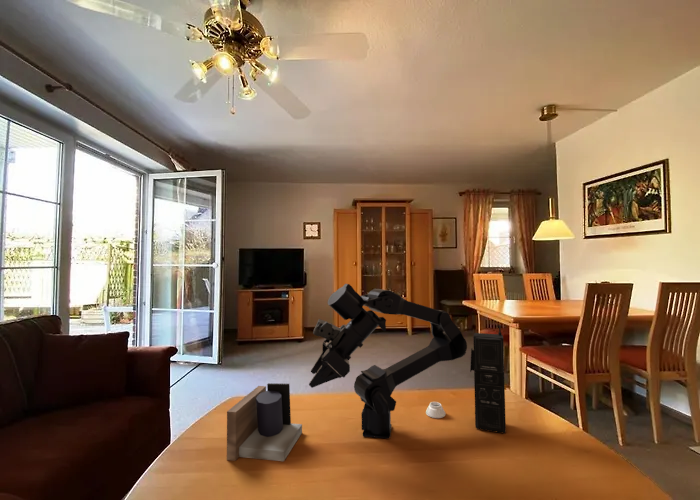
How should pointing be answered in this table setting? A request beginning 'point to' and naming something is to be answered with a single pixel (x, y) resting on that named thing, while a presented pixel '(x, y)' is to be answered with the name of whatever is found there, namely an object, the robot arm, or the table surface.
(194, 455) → the table surface
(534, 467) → the table surface
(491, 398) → the portable radio
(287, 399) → the dark grey mug
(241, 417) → the wall board
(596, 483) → the table surface
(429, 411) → the lidless jar
